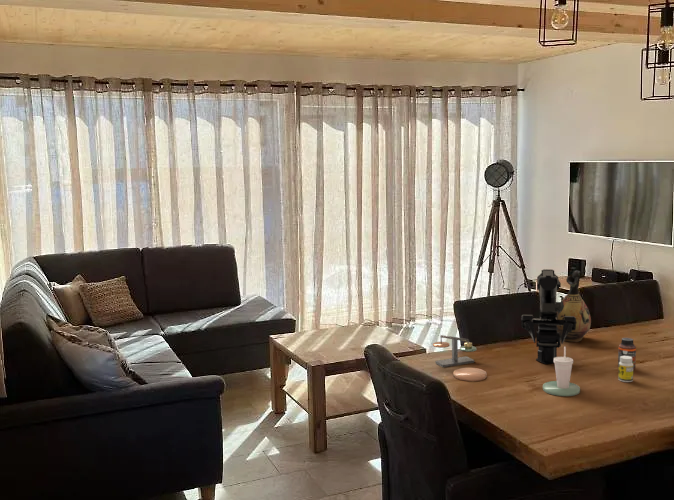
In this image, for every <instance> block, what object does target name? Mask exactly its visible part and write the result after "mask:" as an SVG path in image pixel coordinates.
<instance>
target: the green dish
mask: <svg viewBox="0 0 674 500" xmlns="http://www.w3.org/2000/svg"><path fill="white" fill-rule="evenodd" d="M542 390H543V391H544V393H546V394H549V395H552V396H558V397H572V396H573V397H575V396H577V395H579V394H580V393H581V387H580V386H579V385H578V384H576V383H574V382H569V388H566V389H563V388H559V387H557V380H552V381H546V382H544V383H543V384H542Z"/></svg>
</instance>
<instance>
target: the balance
mask: <svg viewBox="0 0 674 500" xmlns="http://www.w3.org/2000/svg"><path fill="white" fill-rule="evenodd" d="M439 337H440V341H435V342H433V343H432V346H433V347H434V348H440V349H441V348H443V349H445V348H448V347H450V345H451V358H446V359H439V360H435V362H434V363H435V364H436V365H438V366H439V367H440V368H441V367H442V368H449V367H455V366H456V367H457V366H462V365H467V364H468V365H469V364H475V361H476V360H475V359H473V358H471V357H469V356H468V355H467V356H459V357H458V355H459V350H460V351H461V352H466V353H469V352H470V353H471V352H475V351H477V347H476V346H473V342H470V339H469V338H463V337H457V336H452V335H451V336H450V335H444V334H440V336H439ZM442 339H448V340H451V344H450V343H449V342H446V341H442ZM458 341H461V342H464V344H463V345H462V346H460V347H458ZM458 348H459V349H458Z"/></svg>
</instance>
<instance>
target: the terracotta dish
mask: <svg viewBox="0 0 674 500" xmlns="http://www.w3.org/2000/svg"><path fill="white" fill-rule="evenodd" d="M487 375H488V374H487V371H486V370H484V369H481V368H476V367H460V368H456V369H455V370H454V371H453V377H454V378H455V379H456V380H460V381H464V382H465V381H466V382H479V381H483V380H485V379H486V378H487Z"/></svg>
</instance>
